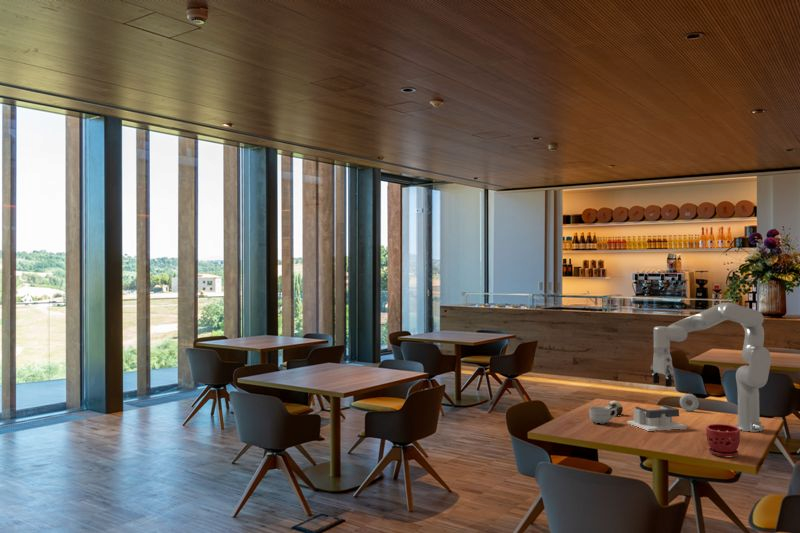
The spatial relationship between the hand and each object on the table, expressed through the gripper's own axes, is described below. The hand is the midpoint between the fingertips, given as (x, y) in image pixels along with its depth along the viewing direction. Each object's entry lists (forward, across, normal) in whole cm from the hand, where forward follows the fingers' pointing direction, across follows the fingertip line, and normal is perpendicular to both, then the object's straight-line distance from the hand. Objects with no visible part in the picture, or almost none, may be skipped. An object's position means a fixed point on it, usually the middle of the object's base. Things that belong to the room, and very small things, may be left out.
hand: (662, 384), depth 330 cm
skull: (+22, +36, +6) cm, 43 cm away
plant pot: (+22, -48, +5) cm, 53 cm away
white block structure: (+22, +6, 0) cm, 23 cm away
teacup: (+22, +19, +22) cm, 37 cm away
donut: (+22, +31, -40) cm, 55 cm away
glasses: (+16, +5, 0) cm, 17 cm away
